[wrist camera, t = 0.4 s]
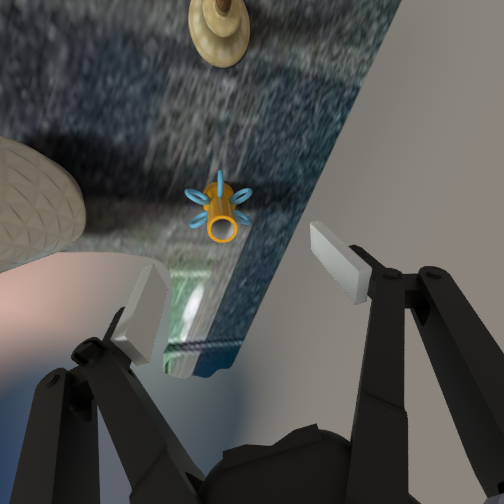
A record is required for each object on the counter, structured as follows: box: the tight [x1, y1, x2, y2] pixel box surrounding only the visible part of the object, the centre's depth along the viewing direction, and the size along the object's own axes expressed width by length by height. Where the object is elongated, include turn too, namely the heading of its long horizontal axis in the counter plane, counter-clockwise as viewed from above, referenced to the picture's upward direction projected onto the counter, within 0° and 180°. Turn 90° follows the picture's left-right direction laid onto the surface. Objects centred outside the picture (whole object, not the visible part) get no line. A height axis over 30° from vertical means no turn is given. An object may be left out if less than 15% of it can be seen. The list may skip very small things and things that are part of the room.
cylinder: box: [185, 170, 252, 243], centre depth 34 cm, size 12×10×15 cm
